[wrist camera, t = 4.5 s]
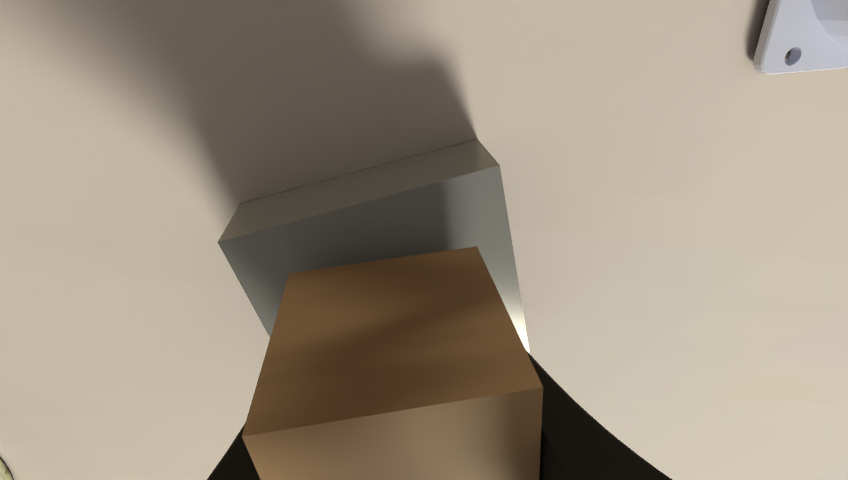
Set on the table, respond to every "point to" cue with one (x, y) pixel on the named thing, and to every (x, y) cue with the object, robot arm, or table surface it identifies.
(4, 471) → the coffee can
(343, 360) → the walnut cube
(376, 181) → the slate slab
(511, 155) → the table surface
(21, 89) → the table surface
